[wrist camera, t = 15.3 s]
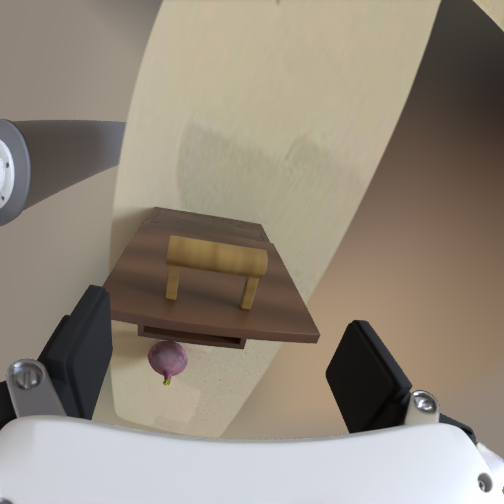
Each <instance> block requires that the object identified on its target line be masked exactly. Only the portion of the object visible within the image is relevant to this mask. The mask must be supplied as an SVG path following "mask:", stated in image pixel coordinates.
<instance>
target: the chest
mask: <svg viewBox="0 0 504 504" xmlns="http://www.w3.org/2000/svg"><path fill="white" fill-rule="evenodd" d="M145 223H148V224H155V225H161V226H168V227H174V228H181V229H187V230H193V231H200V232H206V233H212V234H218V235H224V236H231V237H237V238H243V239H249V240H255V241H261V242H267V243H270V241H269V239H268V237H267V235H266V233H265V231H264V229H263V227H262V225H261V224H256V223H251V222H245V221H239V220H233V219H227V218H221V217H215V216H209V215H203V214H197V213H191V212H185V211H178V210H172V209H165V208H159V207H155V209H154V210H153V212H152V213H151V215H150V216H149V218H148V219H147V221H146V222H145ZM138 336H144V337H149V338H156V339H162V340H169V341H176V342H183V343H190V344H198V345H207V346H216V347H225V348H235V349H244V347H245V343H246V339H244V338H234V337H225V336H216V335H207V334H199V333H192V332H184V331H177V330H170V329H164V328H157V327H151V326H145V325H139V324H138Z"/></svg>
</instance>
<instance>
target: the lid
mask: <svg viewBox="0 0 504 504" xmlns="http://www.w3.org/2000/svg"><path fill="white" fill-rule="evenodd" d="M102 287H105V289H106V292H109V293H110V308H111V319H112V320H117V321H122V322H128V323H133V324H139V325H145V326H151V327H157V328H164V329H170V330H177V331H184V332H192V333H199V334H207V335H216V336H225V337H234V338H244V339H256V340H268V341H281V342H298V343H317V342H318V339H319V337H320V333H319V331H318V329H317V327H316V325H315V323H314V321H313V319H312V317H311V315H310V313H309V311H308V309H307V307H306V305H305V304H304V302H303V300H302V298H301V296H300V294H299V292H298V290H297V288H296V286H295V284H294V282H293V280H292V278H291V276H290V275H289V273H288V271H287V269H286V267H285V265H284V263H283V261H282V259H281V257H280V255H279V254H278V252H277V250H276V248H275V246H274V244H273V243H267V242H261V241H255V240H249V239H243V238H237V237H231V236H224V235H218V234H212V233H206V232H200V231H193V230H187V229H181V228H174V227H168V226H161V225H155V224H148V223H143V224H142V225H141V227H140V228H139V230H138V231H137V233H136V234H135V236H134V237H133V239H132V240H131V242H130V243H129V245H128V246H127V248H126V249H125V251H124V252H123V254H122V255H121V257H120V259H119V260H118V262H117V263H116V265H115V267H114V268H113V270H112V271H111V273H110V275H109V276H108V278H107V280H106V281H105V283H104V285H103V286H102Z"/></svg>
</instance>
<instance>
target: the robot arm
mask: <svg viewBox="0 0 504 504" xmlns="http://www.w3.org/2000/svg"><path fill="white" fill-rule="evenodd" d="M14 176H15V175H14V164H13V159H12V156H11V153H10V151H9V149H8V147H7V146H6V144H5V143H4V142H3V141H2V140H0V209H1V208H2V207H3V206H4V205H5V204H6V203H7V201H8V199H9V198H10V196H11V193H12V190H13V185H14ZM112 350H113V346H112V331H111V308H110V293H109V292H106V289H105V287H100V286H94V285H90V286H89V287H88V289H87V290H86V292H85V293H84V295H83V296H82V298H81V299H80V301H79V302H78V304H77V305H76V307H75V309H74V310H73V312H72V313H71V315H70V316H69V315H65V316H64V317H63V318H62V320H61V321H60V323H59V324H58V326H57V328H56V329H55V331H54V332H53V334H52V336H51V337H50V339H49V341H48V342H47V344H46V346H45V347H44V349H43V351H42V352H41V354H40V356H39V358H38V359H37V361H36V360H33V359H21V360H18V361H16V362H14V363H13V364H12V365H10V367H9V368H8V370H7V373H6V381H3V382H0V504H504V495H503V493H502V491H501V490H502V487H503V484H504V460H503V459H502V458H500V457H499V456H498V455H496V454H495V453H494V452H492V451H491V450H490V449H488V448H487V447H486V446H484V445H483V444H482V443H480V442H479V441H478V442H477V443H476V437H475V434H474V433H473V430H472V429H471V428H470V427H468V426H466V425H464V424H462V423H460V422H457V421H456V420H453V419H451V418H449V417H447V416H445V415H443V414H441V413H440V405H439V402H438V400H437V399H436V398H435V397H434V396H433V395H432V394H430V393H429V392H427V391H423V390H416V391H414V392H412V393H410V392H409V390H410V389H411V388H412V384H411V383H410V381H409V380H408V378H407V377H406V375H405V374H404V373H403V371H402V369H401V368H400V366H399V365H398V363H397V362H396V361H395V359H394V358H393V356H392V355H391V353H390V352H389V351H388V349H387V348H386V346H385V345H384V343H383V342H382V341H381V339H380V338H379V336H378V335H377V334H376V332H375V331H374V329H373V328H372V327H371V325H370V324H369V323H368V322H367V321H363V320H354V321H352V323H350V324H348V326H347V328H346V330H345V332H344V335H343V337H342V339H341V341H340V343H339V345H338V348H337V350H336V352H335V354H334V356H333V358H332V360H331V362H330V364H329V366H328V368H327V370H326V379H327V381H328V383H329V386H330V388H331V391H332V393H333V395H334V398H335V400H336V402H337V405H338V407H339V409H340V412H341V414H342V416H343V419H344V421H345V423H346V426H347V428H348V431H349V433H350V434H343V435H335V436H323V437H311V438H294V439H223V438H208V437H195V436H185V435H175V434H167V433H161V432H154V431H146V430H140V429H134V428H128V427H123V426H118V425H113V424H108V423H102V422H97V421H92V420H91V419H92V416H93V412H94V409H95V406H96V402H97V399H98V396H99V393H100V389H101V386H102V383H103V380H104V377H105V374H106V371H107V368H108V365H109V362H110V359H111V356H112Z"/></svg>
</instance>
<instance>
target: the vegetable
mask: <svg viewBox="0 0 504 504" xmlns="http://www.w3.org/2000/svg"><path fill="white" fill-rule="evenodd" d="M148 359H149V363H150V365H151V367H152V368H153V369H154V370H155V371H156V372H158V373H159V374H162V375H164V377H165V378H164V379H165V381H164V382H163V384H164V385H169V384H170V380H171V377H172V376H174V375H177V374H179V373H181V372H182V371H183V370H184V369H185V367H186V365H187V355H186V353H185V351H184V349H183V348H182V347H181V346H180V345H179V344H178V343H176V342H173V341H162V342H159V343H157V344H155V345H154V346H153V347H152V348H151V349H150V351H149V354H148Z"/></svg>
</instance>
